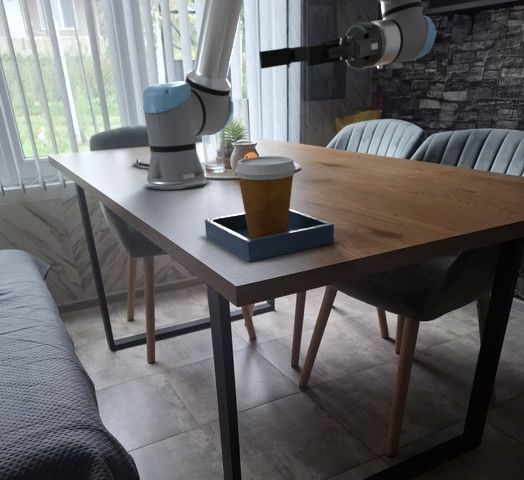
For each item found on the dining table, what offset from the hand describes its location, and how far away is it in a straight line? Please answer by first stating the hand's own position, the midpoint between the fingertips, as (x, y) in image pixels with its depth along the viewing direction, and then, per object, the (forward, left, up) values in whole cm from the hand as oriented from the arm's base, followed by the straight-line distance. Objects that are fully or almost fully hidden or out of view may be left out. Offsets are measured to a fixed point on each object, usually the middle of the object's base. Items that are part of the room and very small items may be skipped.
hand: (283, 58), depth 84 cm
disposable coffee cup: (+17, -9, -26) cm, 33 cm away
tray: (+17, -9, -27) cm, 33 cm away
